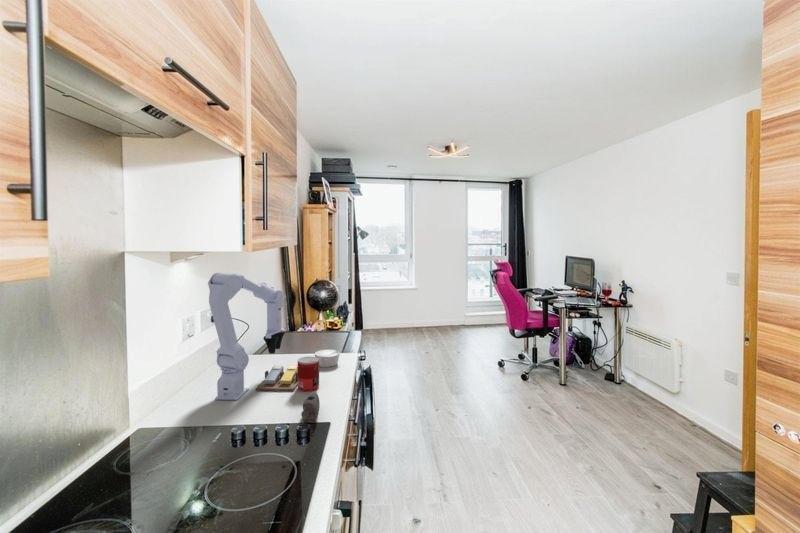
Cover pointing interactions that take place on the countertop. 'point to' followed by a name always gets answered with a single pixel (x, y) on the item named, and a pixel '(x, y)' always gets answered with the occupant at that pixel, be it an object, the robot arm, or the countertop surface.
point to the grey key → (273, 374)
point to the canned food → (308, 373)
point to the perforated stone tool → (310, 407)
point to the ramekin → (327, 357)
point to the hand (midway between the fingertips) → (274, 351)
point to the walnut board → (278, 384)
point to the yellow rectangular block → (289, 375)
